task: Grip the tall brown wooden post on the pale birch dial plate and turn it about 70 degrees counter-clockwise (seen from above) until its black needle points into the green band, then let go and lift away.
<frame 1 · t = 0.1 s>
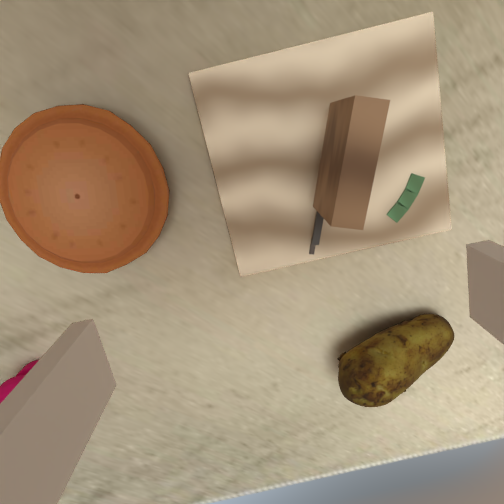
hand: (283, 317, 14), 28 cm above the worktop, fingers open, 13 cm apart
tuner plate: (325, 155, 40), on the worktop
pepper mill: (48, 381, 47), on the worktop
pie: (97, 188, 40), on the worktop
potato: (383, 340, 46), on the worktop
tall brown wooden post: (337, 184, 33), point 7 cm above the worktop, hinge at 0.0°
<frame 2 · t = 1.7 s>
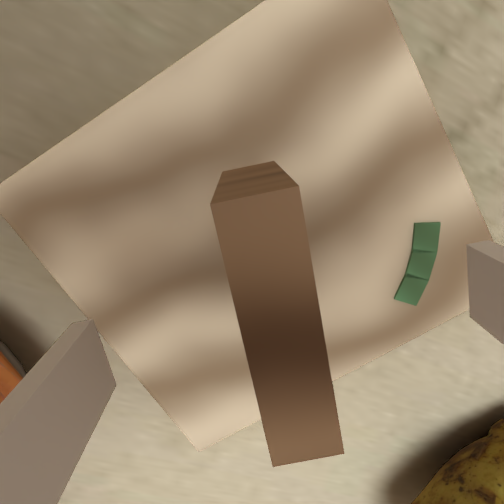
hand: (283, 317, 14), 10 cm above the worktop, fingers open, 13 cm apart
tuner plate: (262, 235, 24), on the worktop
potato: (452, 459, 29), on the worktop
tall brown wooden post: (279, 320, 17), point 7 cm above the worktop, hinge at 0.0°
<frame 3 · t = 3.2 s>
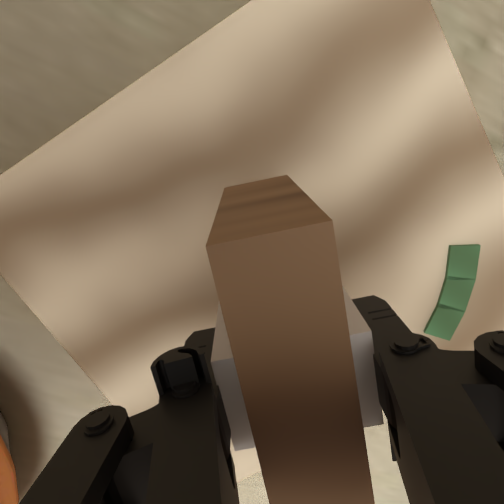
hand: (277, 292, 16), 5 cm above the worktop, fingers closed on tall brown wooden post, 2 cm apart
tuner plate: (270, 258, 20), on the worktop
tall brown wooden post: (294, 370, 14), point 7 cm above the worktop, hinge at 0.0°, touching gripper
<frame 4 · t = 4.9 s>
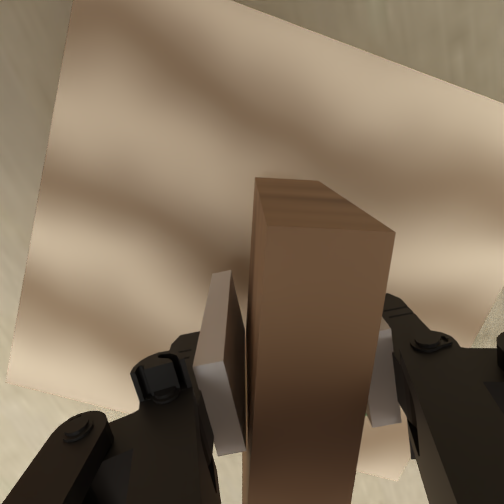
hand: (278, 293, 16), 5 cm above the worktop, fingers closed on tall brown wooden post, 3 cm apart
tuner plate: (270, 258, 20), on the worktop
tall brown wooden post: (279, 372, 14), point 7 cm above the worktop, hinge at 34.9°, touching gripper
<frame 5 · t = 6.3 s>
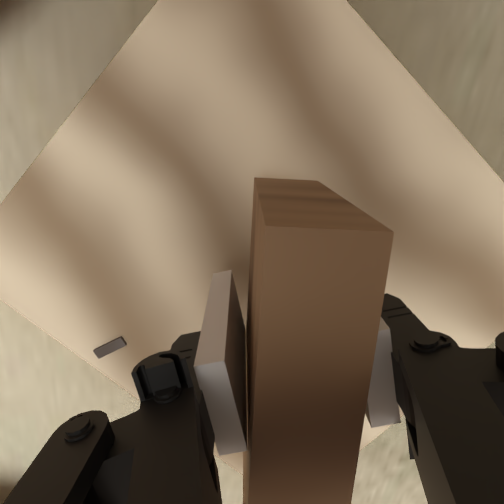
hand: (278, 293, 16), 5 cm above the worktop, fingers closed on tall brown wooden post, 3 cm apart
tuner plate: (270, 258, 20), on the worktop
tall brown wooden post: (279, 372, 14), point 7 cm above the worktop, hinge at 60.2°, touching gripper
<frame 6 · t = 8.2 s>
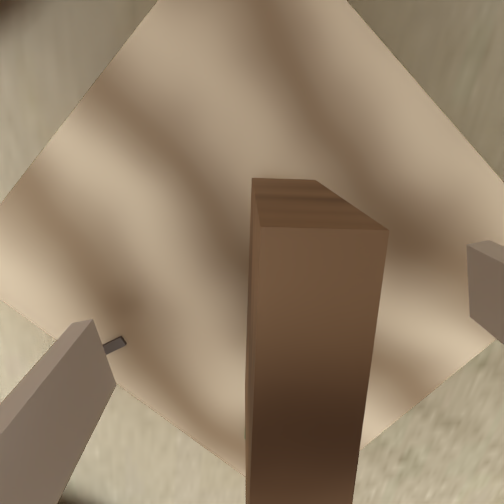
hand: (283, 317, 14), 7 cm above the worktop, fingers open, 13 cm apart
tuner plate: (270, 258, 20), on the worktop
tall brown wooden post: (280, 371, 14), point 7 cm above the worktop, hinge at 61.3°
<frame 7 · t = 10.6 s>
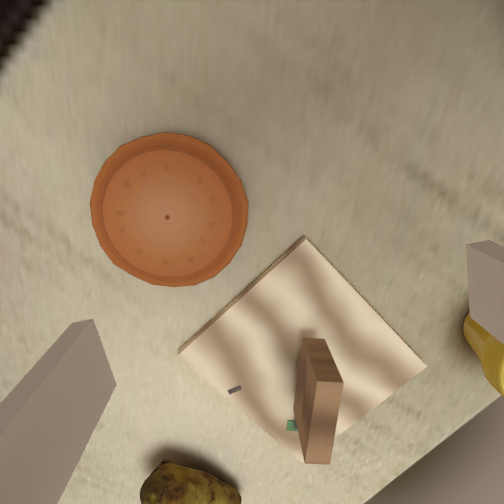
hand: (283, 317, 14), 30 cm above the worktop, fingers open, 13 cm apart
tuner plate: (302, 354, 49), on the worktop
pie: (175, 207, 43), on the worktop
potato: (195, 471, 53), on the worktop
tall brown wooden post: (310, 406, 42), point 7 cm above the worktop, hinge at 61.4°
plant pot: (489, 322, 49), on the worktop
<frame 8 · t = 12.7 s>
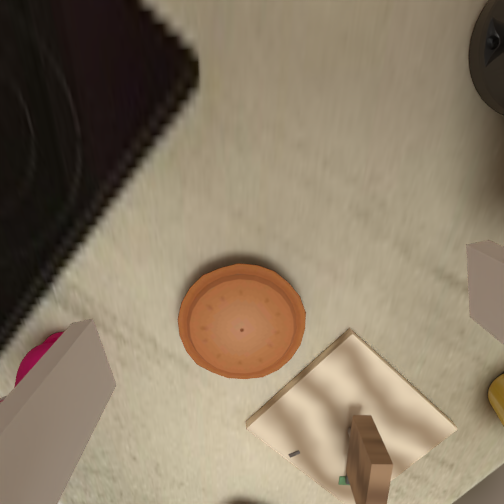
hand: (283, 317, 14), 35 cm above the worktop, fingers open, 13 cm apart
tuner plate: (350, 421, 57), on the worktop
pepper mill: (67, 351, 53), on the worktop
pie: (241, 311, 52), on the worktop
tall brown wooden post: (362, 472, 51), point 7 cm above the worktop, hinge at 61.4°
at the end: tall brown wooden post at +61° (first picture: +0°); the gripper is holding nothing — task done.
